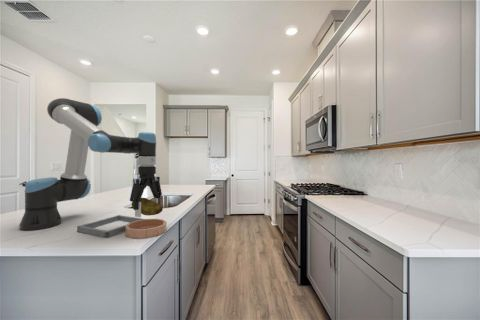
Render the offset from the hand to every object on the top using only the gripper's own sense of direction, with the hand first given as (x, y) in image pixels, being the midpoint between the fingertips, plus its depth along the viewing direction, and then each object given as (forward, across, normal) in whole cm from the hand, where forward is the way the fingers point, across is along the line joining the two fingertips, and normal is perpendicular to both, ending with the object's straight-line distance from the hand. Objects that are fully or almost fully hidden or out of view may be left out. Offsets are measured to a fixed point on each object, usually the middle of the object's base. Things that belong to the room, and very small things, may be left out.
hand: (146, 213), depth 98 cm
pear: (+1, 0, 0) cm, 1 cm away
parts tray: (+8, -2, +19) cm, 21 cm away
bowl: (+8, 0, 0) cm, 8 cm away
